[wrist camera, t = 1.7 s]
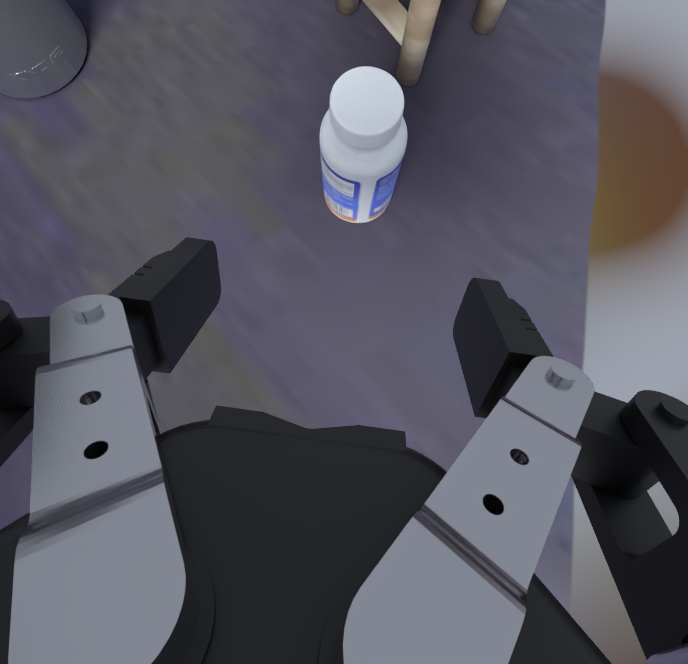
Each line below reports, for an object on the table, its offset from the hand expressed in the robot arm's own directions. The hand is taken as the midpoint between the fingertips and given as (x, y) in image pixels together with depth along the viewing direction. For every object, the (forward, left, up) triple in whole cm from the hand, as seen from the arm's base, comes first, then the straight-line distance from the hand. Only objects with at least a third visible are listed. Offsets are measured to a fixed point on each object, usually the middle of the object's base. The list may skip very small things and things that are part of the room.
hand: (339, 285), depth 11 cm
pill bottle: (-8, +8, -16) cm, 19 cm away
